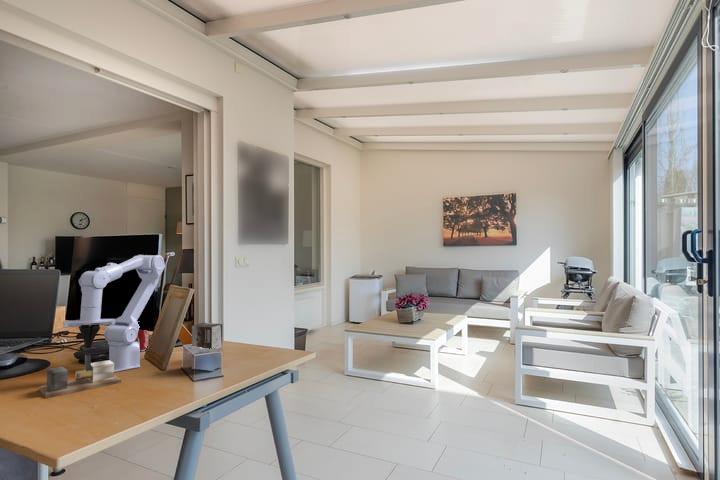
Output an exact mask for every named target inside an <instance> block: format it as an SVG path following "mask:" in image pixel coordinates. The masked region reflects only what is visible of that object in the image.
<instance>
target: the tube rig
mask: <svg viewBox="0 0 720 480" xmlns="http://www.w3.org/2000/svg"><path fill="white" fill-rule="evenodd" d="M92 368H93V377H92V378H87V379H82V380H77V381H76V379H72V380H68V369H67V368H66V367H64V366H57V367H51V368H47V369H46V384H45V385H41V386H40V385H39V386H38V387H39V388H38V390H39V391H40V392H41V394H42V395H43V396H44V397H45V399H48V398H54V397H58V396H63V395H67V394H68V395H69V394H73V393H77V392H82V391H86V390H87V391H88V390H92V389H95V388H101V387H106V386H111V385H115V384H120V383H122V378H120V377H119V376H118V375H116V374H115V372H114V363H113V362H112V361H110V360H101V361H95V362H91V369H92Z"/></svg>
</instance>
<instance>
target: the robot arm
mask: <svg viewBox="0 0 720 480" xmlns="http://www.w3.org/2000/svg"><path fill="white" fill-rule="evenodd" d="M165 267H166V263H165V260H164V258H163V256H162V255H160V254H156V255H151V254H149V255H148V254H145V255H144V254H137V255H134V256H133V257H132V258H130V259H128V260H126V261H125V260H124V261H123V262H121V263H118V264H117V263H115V262H108V263H106V265H105V266H102V267H96V268H95V270H88V271H87V270H86V271H85V272H83V273H82V274H81V276H80V277H79V279H78V284H79V286H80V292H81V294H82V295H81V304H80V318H79V319H75V320H64V321H63V324H62V328H76V327H78V329H79V332H80V333H81V336H82V339H83V343H84V349H92V346H93V342H94V341H95V338H96V336H97V334H98V332H99V331H100V330H101V326H107V327H106V328H105V330H104V334H103V336H104V339H105V340H106V342H107V345H108V347H109V349H108V350H109V352H108V353H109V354H108V355H109V356H108V359H109V360H110V361H112V362H113V363H114V373H116V372H121V371H127V370H131V369H137V368H141V365H140V363H141V362H140V361H141V360H140V358H141V357H140V356H141V352H140V347H139V344H138V342H135V340H136V338H137V334H138V330H139V328H140V326H139V324H138V322H139V321H138V319H139V318H140V316H141V315H142V312H143V310H144V309H145V307H146V305H147V303H148V301H149V300H150V299H151V298H150V297H151V296H152V294H153V292H154V291H155V289H156V287H157V286H158V283H159V281H160V276H161V275H162V273H163V271H164V269H165ZM132 270H136V272H137V274H138V277H139V278H140V279H141V282H140V283H139V285H138V287H137V289H136V290H135V293H134V294H133V296H132V297H131V298H130V300H129V302H128V304H127V306H126V307H125V309H124V311H123V313H122V315H121V316H118V317H117V318H101V315H102V314H101V313H102V301H103V299H102V298H103V290H104V288H105V287H106V286H107V284H108V283H111V282H113V281H115V280H118V279H120V278H121V277H122V276H123V274H124V273H127V272H129V271H132Z"/></svg>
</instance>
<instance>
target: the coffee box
mask: <svg viewBox="0 0 720 480" xmlns="http://www.w3.org/2000/svg"><path fill="white" fill-rule="evenodd" d="M223 325H224V323H213V322H200V323H197V324H194V325H191V347H192V346H196V347H202V348H209V349H210V348H211V349H212V348H216V349H218V350H219V351H221V355H222V356H223Z"/></svg>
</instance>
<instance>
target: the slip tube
mask: <svg viewBox="0 0 720 480" xmlns="http://www.w3.org/2000/svg"><path fill="white" fill-rule="evenodd" d="M91 355H92V354H90V353H89V354H85V355H84V369H83V370H77V371H75V372H74V378H75V379H74V380H76V381H77V380H82V379H87V378H92V377H93V368H92V369H91V363H92V362H91V361H92V356H91Z"/></svg>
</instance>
